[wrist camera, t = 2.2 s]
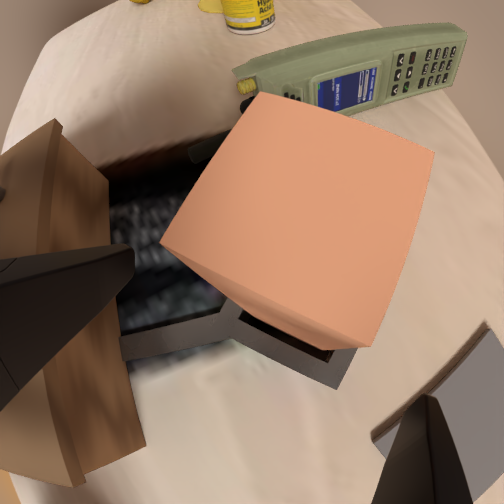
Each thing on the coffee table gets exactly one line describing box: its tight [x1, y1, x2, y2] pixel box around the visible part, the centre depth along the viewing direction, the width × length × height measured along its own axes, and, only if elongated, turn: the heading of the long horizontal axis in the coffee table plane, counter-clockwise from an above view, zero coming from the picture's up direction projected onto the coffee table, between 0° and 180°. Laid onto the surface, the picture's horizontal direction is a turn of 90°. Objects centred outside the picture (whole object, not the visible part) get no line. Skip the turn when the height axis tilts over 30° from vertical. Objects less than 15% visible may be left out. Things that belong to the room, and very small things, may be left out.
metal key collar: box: [118, 298, 358, 390], centre depth 17 cm, size 12×13×2 cm
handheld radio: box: [188, 23, 467, 164], centre depth 19 cm, size 7×3×25 cm
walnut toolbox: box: [0, 118, 146, 488], centre depth 15 cm, size 21×9×10 cm, turn 14°
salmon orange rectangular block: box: [159, 91, 435, 350], centre depth 11 cm, size 4×4×13 cm
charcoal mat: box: [372, 329, 504, 502], centre depth 13 cm, size 10×10×1 cm
